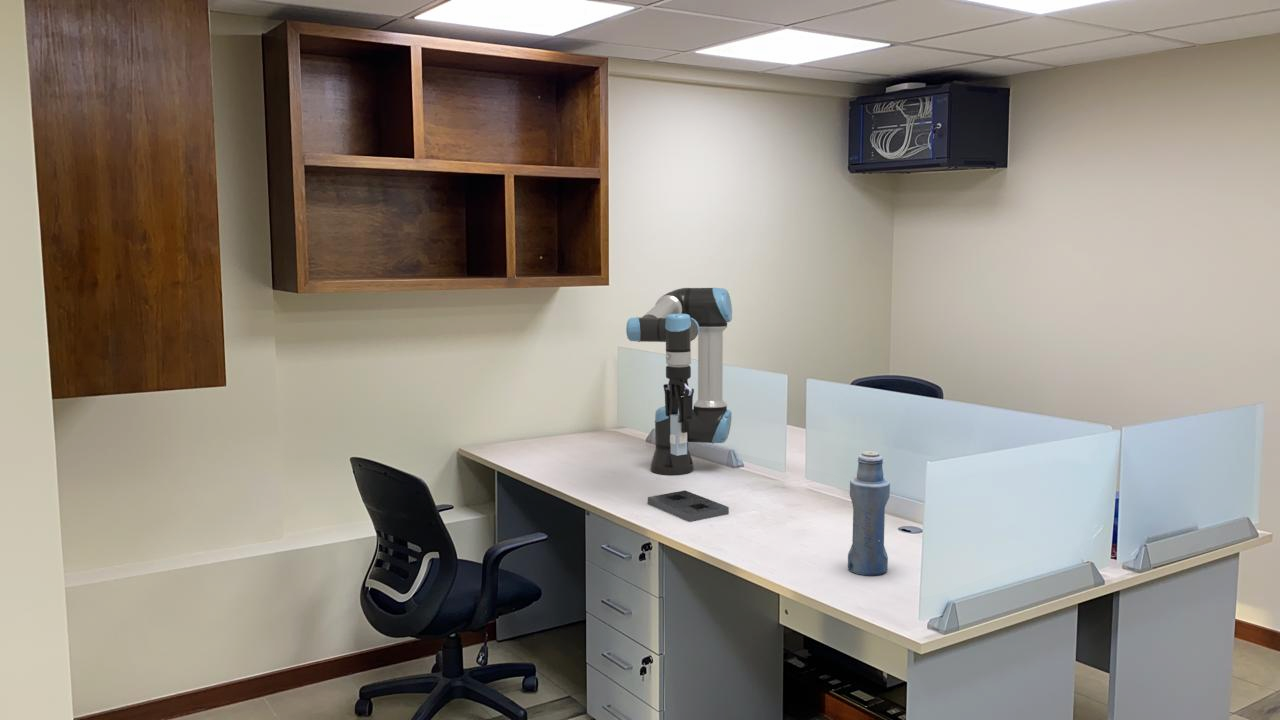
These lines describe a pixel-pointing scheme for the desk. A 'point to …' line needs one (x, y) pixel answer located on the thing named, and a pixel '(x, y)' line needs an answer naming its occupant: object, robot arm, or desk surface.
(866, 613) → the desk surface
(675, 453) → the pale blue rectangular prism
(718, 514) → the dark grey base plate
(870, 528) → the bottle
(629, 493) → the desk surface
